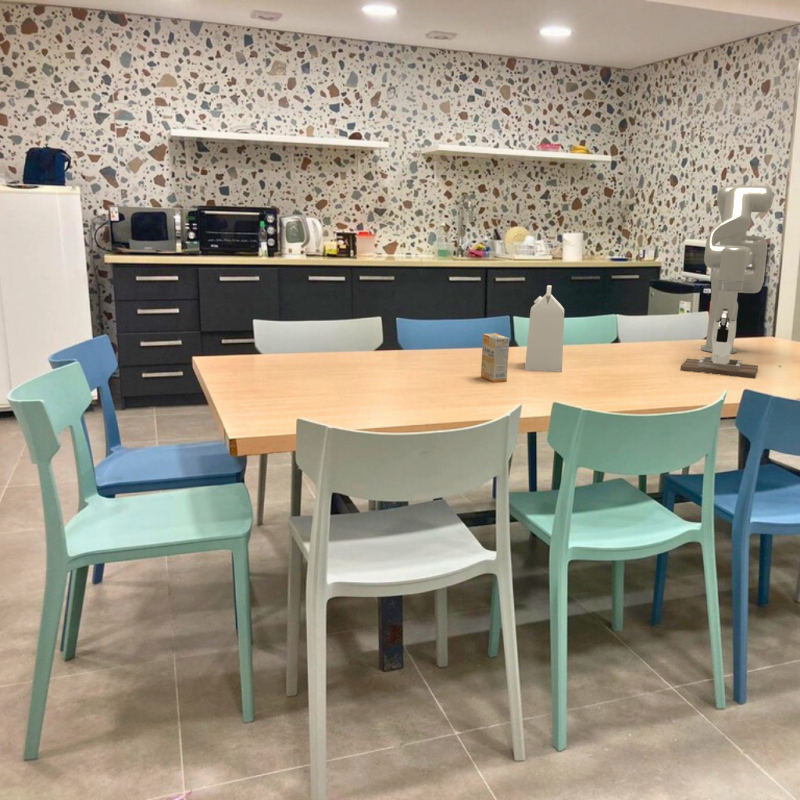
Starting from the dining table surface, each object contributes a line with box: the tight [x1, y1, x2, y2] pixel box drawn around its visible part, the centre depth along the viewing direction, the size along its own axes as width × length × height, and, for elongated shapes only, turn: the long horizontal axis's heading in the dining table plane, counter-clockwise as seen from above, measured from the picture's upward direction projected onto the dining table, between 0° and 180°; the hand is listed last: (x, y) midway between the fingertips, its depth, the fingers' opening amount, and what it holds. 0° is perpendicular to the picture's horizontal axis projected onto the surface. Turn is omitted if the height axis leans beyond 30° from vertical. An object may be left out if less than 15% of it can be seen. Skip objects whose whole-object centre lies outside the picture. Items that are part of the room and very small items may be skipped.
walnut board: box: [679, 356, 759, 379], centre depth 247 cm, size 16×22×3 cm
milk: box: [524, 284, 565, 373], centre depth 241 cm, size 12×12×26 cm
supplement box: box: [480, 332, 510, 383], centre depth 222 cm, size 8×5×13 cm, turn 21°
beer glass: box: [710, 319, 737, 365], centre depth 245 cm, size 7×7×15 cm
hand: (723, 339), depth 245 cm, fingers open, 9 cm apart
